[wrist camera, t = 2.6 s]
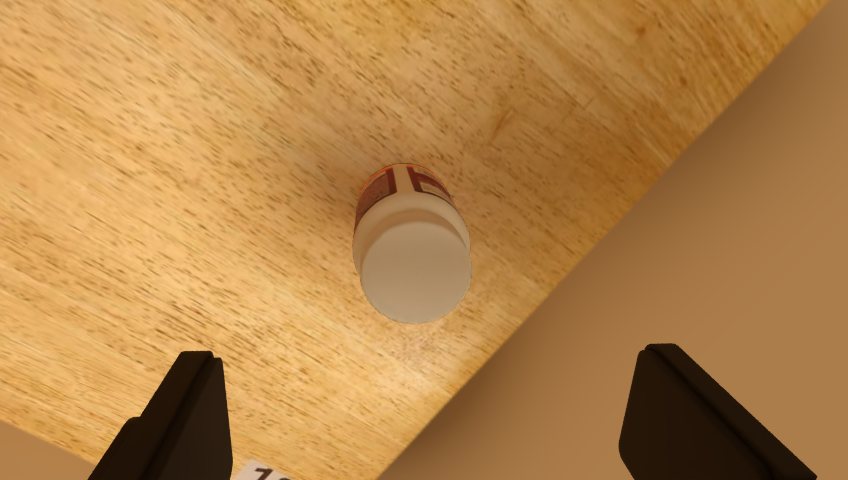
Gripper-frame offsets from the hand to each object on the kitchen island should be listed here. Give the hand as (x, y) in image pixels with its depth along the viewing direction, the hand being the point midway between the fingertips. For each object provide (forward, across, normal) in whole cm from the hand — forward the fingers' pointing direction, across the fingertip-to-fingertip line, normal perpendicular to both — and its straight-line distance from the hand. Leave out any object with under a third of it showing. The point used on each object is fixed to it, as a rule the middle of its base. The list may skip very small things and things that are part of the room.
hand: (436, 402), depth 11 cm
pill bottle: (+16, 0, 0) cm, 16 cm away
